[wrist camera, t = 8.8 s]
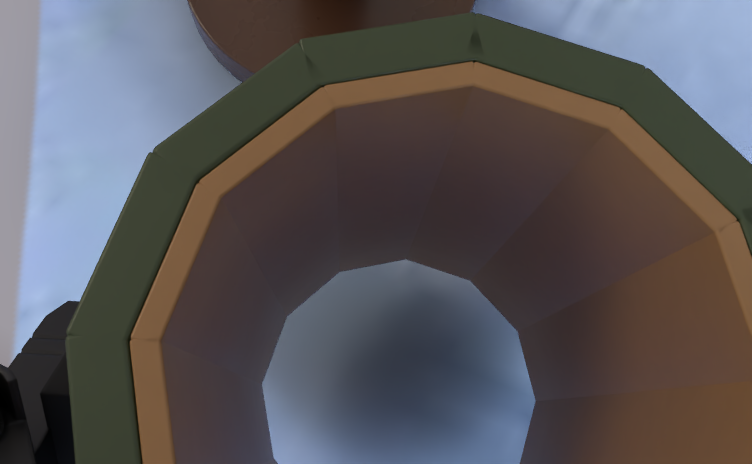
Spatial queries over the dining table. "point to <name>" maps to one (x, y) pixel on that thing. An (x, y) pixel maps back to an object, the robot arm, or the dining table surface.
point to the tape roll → (432, 244)
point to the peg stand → (298, 24)
